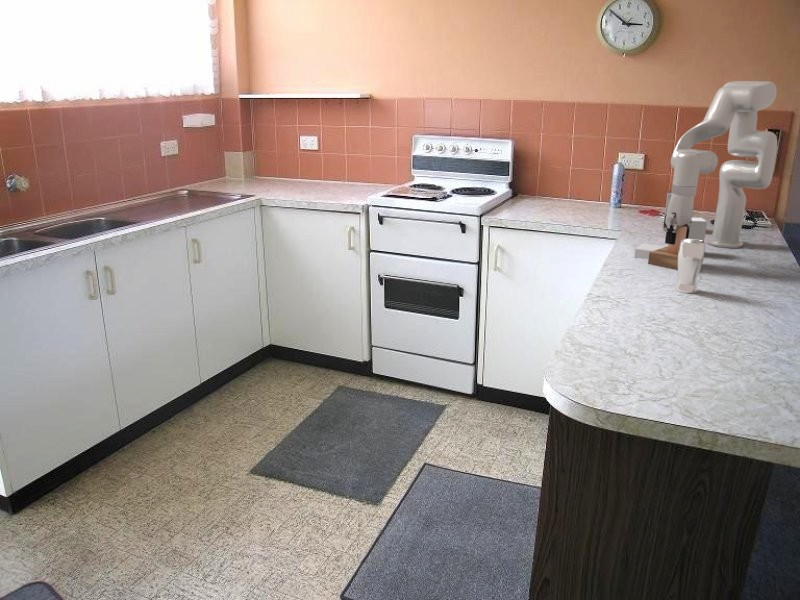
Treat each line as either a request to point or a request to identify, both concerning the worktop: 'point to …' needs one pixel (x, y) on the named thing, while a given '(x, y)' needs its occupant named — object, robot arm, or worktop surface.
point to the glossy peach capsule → (677, 240)
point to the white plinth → (646, 250)
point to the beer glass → (689, 264)
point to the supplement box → (697, 228)
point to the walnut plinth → (663, 259)
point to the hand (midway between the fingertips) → (676, 241)
